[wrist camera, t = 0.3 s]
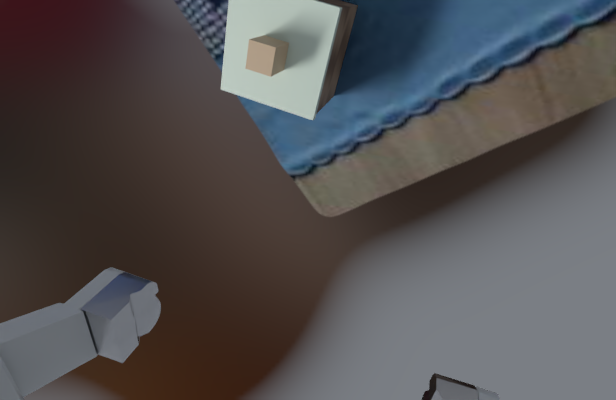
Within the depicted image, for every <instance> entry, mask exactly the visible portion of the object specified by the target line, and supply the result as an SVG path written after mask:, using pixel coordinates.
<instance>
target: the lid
mask: <svg viewBox="0 0 616 400" xmlns="http://www.w3.org/2000/svg"><path fill="white" fill-rule="evenodd" d="M341 11H342V7H339V6H335V5H332V4H329V3H325V2H322V1H318V0H229V4H228V15H227V26H226V37H225V48H224V59H223V70H222V81H221V90H224V91H227V92H230V93H233V94H236V95H239V96H242V97H245V98H248V99H251V100H254V101H257V102H260V103H263V104H266V105H268V106H271V107H274V108H277V109H280V110H283V111H286V112H289V113H292V114H295V115H298V116H301V117H304V118H307V119H310V120H314V119H315V117H316V113H317V109H318V105H319V101H320V97H321V93H322V89H323V85H324V81H325V76H326V72H327V68H328V64H329V60H330V56H331V52H332V48H333V44H334V40H335V36H336V32H337V28H338V24H339V20H340V15H341Z"/></svg>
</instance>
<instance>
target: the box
mask: <svg viewBox="0 0 616 400" xmlns="http://www.w3.org/2000/svg"><path fill="white" fill-rule="evenodd" d="M318 1H322V2H325V3H329V4H332V5H335V6H339V7H342V11H341V15H340V20H339V24H338V28H337V32H336V36H335V40H334V44H333V48H332V52H331V56H330V60H329V64H328V68H327V72H326V76H325V81H324V85H323V89H322V93H321V97H320V101H319V105H318V109H317V113H318V112H319V111H320V110H321V109H322V108H323V107H324V106H325V104H326V103H327V102H328V101H329V100H330V99H331V98H332V97H333V96H334V93H335V89H336V86H337V82H338V78H339V74H340V71H341V67H342V63H343V59H344V56H345V52H346V48H347V44H348V41H349V37H350V33H351V29H352V26H353V22H354V18H355V14H356V11H357V7H358V5H355V4H351V3H348V2H344V1H341V0H318ZM317 113H316V114H317Z"/></svg>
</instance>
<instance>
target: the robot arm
mask: <svg viewBox="0 0 616 400" xmlns="http://www.w3.org/2000/svg"><path fill="white" fill-rule="evenodd" d="M157 292H158V288H157V284H156V283H154V282H151V281H149V280H146V279H143V278H140V277H138V276H134V275H132V274H129V273H126V272H123V271H120V270H117V269H114V268H109V269H106V270H104V271H103V272H102V273H100V274H99V275H98V276H97V277H96V278H95V279H93V280H92V281H91V282H90V283H88V284H87V285H86V286H85V287H84V288H82V289H81V290H80V291H79V292H78V293H76V294H75V295H74V296H73V297H72V298H70V299H69V300H68V301H67V302H66V303H64V304H62V303H58V304H55V305H52V306H49V307H46V308H43V309H41V310H37V311H35V312H32V313H29V314H26V315H24V316H20V317H18V318H15V319H12V320H9V321H7V322H4V323H1V324H0V400H24V398H23V397H24V396H26V395H28V394H30V393H32V392H34V391H35V390H37V389H39V388H41V387H42V386H44V385H46V384H48V383H50V382H51V381H53V380H55V379H56V378H59V377H60V376H62V375H64V374H66V373H68V372H69V371H71V370H73V369H75V368H76V367H78V366H80V365H82V364H84V363H85V362H87V361H89V360H91V359H93V358H94V357H96V356H97V354H98V355H102V356H104V357H107V358H110V359H113V360H116V361H118V362H121V363H123V362H124V361H125V360H126V359H127V357H128V356H129V355H130V354H131V353H132V351H133V350H134V349H135V348H136V347H137V346H138V345H139V337H140V336H142V335H144V334H146V333H148V332H150V330H151V329H152V328H153V327H154V325H155V324H156V322H157V320H158V318H159V315H160V310H161V305H160V302H159V300H158V299H157V297H156V296H155V294H156V293H157ZM422 400H500V397H499V396H498V394H497V393H495V392H492V391H488V390H485V389H482V388H479V387H475V386H474V385H471V384H468V383H465V382H461V381H458V380H455V379H452V378H449V377H446V376H442V375H439V374H436V373H434V374H433V375H432V377H431V379H430V383H429V390H427V391H425V392H424V395H423V397H422Z"/></svg>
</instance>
